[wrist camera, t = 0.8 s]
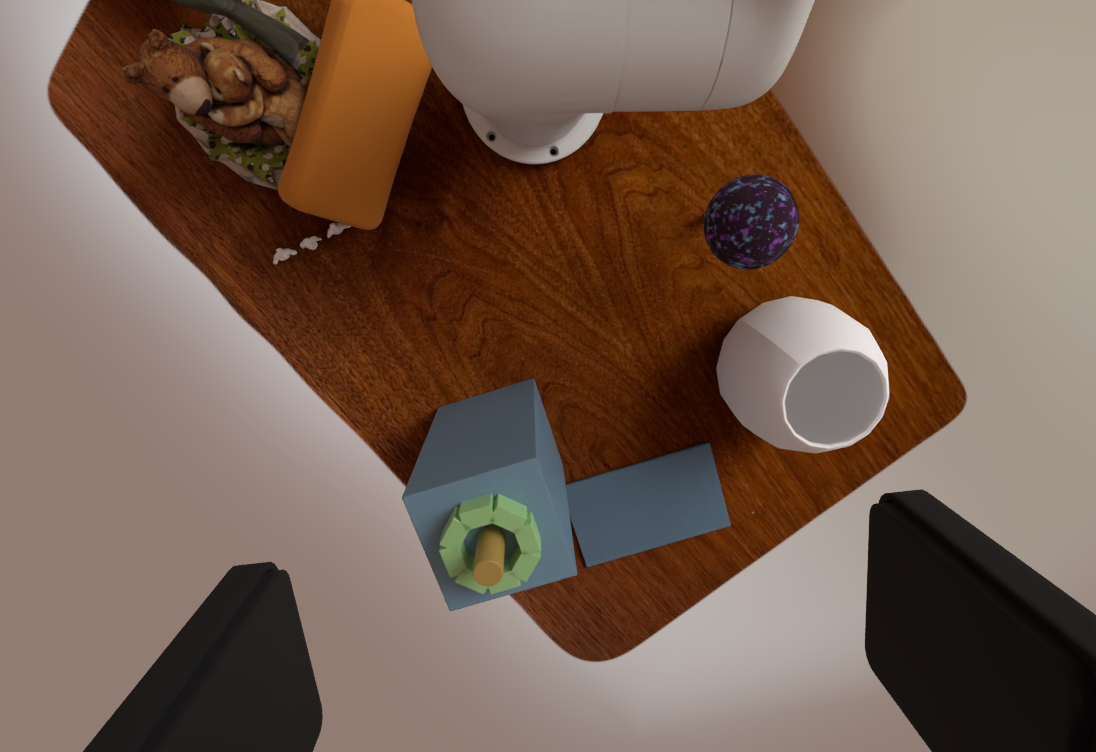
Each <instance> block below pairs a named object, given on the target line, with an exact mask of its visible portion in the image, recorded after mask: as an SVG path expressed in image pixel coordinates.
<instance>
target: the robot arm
mask: <svg viewBox="0 0 1096 752" xmlns="http://www.w3.org/2000/svg"><path fill="white" fill-rule="evenodd" d="M814 1H815V0H412V4H413V10H414V16H415V21H416V25H417V29H418V32H419V36H420V39H421V42H422V45H423V47H424V50H425V53H426V55H427V57H428V59H429V61H430V64H431V65H432V67H433V69H434V71H435V72H436V74H437V76H438V77H439V79H440V80H441V82H442V83H443V84H444V86H445V87H446V88H447V89H448V90H449V92H450V93H451V94H452V95H453V96H454V97H455V98H456V99H458V100H459V101H460V102H461V103H462V104H463V107H464V111H465V113H466V115H467V118H468V120H469V122H470V124H471V126H472V128H473V129H474V131H475V132H476V133H477V135H478V136H479V137H480V139H481V140H482V141H483V142H484V143H485V144H486V145H487V146H488V147H489V148H491V149H492V150H493V151H495V152H496V153H498V154H499V155H501V156H503V157H505V158H507V159H510V160H512V161H515V162H518V163H525V164H532V165H533V164H546V163H550V162H554V161H557V160H560V159H562V158H564V157H566V156H568V155H570V154H572V153H573V152H574V151H576V150H577V149H579V148H580V147H581V146H582V145H583V144H584V143H585V142H586V141H587V140H588V139H589V137H590V136H591V135H592V133H593V132H594V131H595V129H596V128H597V126H598V124H599V121H600V119H601V117H602V115H603V113H612V111H691V110H716V109H728V108H734V107H738V106H742V105H745V104H748V103H750V102H753V101H754V100H756V99H758V98H759V97H761V96H762V95H763V94H765V93H766V92H767V91H768V90H769V89H770V88H771V87H772V86H773V85H774V84H775V83H776V81H777V80H778V79H779V78H780V76H781V74H782V73H783V71H784V70H785V68H786V66H787V64H788V62H789V60H790V59H791V57H792V55H793V53H794V50H795V48H796V46H797V44H798V41H799V39H800V36H801V34H802V32H803V29H804V27H805V24H806V21H807V19H808V16H809V14H810V11H811V8H812V6H813V4H814ZM491 134H493V135H494V136H495V139H494V140H490V139H489V136H490V135H491ZM551 149H555V150H556V154H555V155H551V153H550V150H551ZM867 572H868V573H867V601H866V628H865V630H866V631H865V651H866V656H867V659H868V662H869V664H870V667H871V669H872V670H873V672H874V673H875V675H876V676H877V678H878V679H879V680H880V682H881V683H882V684H883V685H884V687H885V688H886V690H887V691H888V693H889V694H890V695H891V697H892V698H893V699H894V701H895V702H896V703H897V705H898V706H899V707H900V709H901V710H902V712H903V713H904V714H905V716H906V717H907V718H908V720H909V721H910V722H911V724H912V725H913V727H914V728H915V729H916V731H917V732H918V733H919V735H920V736H921V738H922V739H923V740H924V742H925V743H926V744H927V746H928V747H929V748H930V750H931V751H932V752H1096V615H1095V614H1094V613H1092V612H1091V611H1090V610H1088V609H1087V608H1085V607H1084V606H1083V605H1081V604H1080V603H1079V602H1077V601H1076V600H1075V599H1073V598H1072V597H1070V596H1069V595H1068V594H1066V593H1065V592H1064V591H1062V590H1061V589H1059V588H1058V587H1057V586H1055V585H1054V584H1053V583H1051V582H1050V581H1048V580H1047V579H1046V578H1044V577H1043V576H1042V575H1040V574H1039V573H1038V572H1036V571H1035V570H1033V569H1032V568H1031V567H1029V566H1028V565H1026V564H1025V563H1024V562H1022V561H1021V560H1020V559H1018V558H1017V557H1016V556H1014V555H1013V554H1012V553H1010V552H1009V551H1007V550H1006V549H1004V548H1003V547H1002V546H1001V545H999V544H998V543H996V542H995V541H994V540H992V539H991V538H990V537H988V536H987V535H985V534H984V533H983V532H981V531H980V530H979V529H977V528H976V527H975V526H973V525H972V524H970V523H969V522H968V521H966V520H965V519H963V518H962V517H961V516H959V515H958V514H957V513H955V512H954V511H952V510H951V509H950V508H948V507H947V506H946V505H944V504H943V503H942V502H940V501H939V500H937V499H936V498H935V497H934V496H932V495H931V494H929V493H928V492H926V491H924V490H912V491H904V492H894V493H885V494H884V495H882V496H881V498H880V500H879V503H878V504H874V505H872V507H871V509H870V515H869V543H868V571H867ZM321 726H322V706H321V701H320V698H319V693H318V689H317V685H316V681H315V677H314V673H313V669H312V665H311V661H310V657H309V653H308V649H307V645H306V641H305V637H304V633H303V629H302V625H301V621H300V617H299V613H298V609H297V605H296V601H295V597H294V593H293V589H292V585H291V581H290V577H289V574H288V573H287V572H286V571H285V570H278V568H277V567H276V565H275V564H274V563H272V562H265V563H256V564H247V565H238V566H234V567H232V568H231V569H230V570H229V571H228V572H227V574H226V575H225V576H224V577H223V579H222V580H221V581H220V582H219V584H218V585H217V586H216V587H215V588H214V590H213V591H212V592H211V593H210V595H209V596H208V597H207V598H206V600H205V601H204V602H203V603H202V605H201V606H200V607H199V608H198V610H197V611H196V612H195V613H194V615H193V616H192V617H191V618H190V619H189V621H188V622H187V623H186V625H185V626H184V627H183V628H182V629H181V631H180V632H179V633H178V634H177V636H176V637H175V638H174V639H173V641H172V642H171V643H170V644H169V646H168V647H167V648H166V649H165V650H164V652H163V653H162V654H161V656H160V657H159V658H158V659H157V660H156V662H155V663H154V664H153V665H152V667H151V668H150V669H149V670H148V672H147V673H146V674H145V675H144V677H143V678H142V679H141V680H140V681H139V683H138V684H137V685H136V687H135V688H134V689H133V690H132V692H131V693H130V694H129V695H128V696H127V698H126V699H125V700H124V701H123V703H122V704H121V705H120V707H119V708H118V709H117V710H116V711H115V713H114V714H113V715H112V716H111V717H110V719H109V720H108V721H107V722H106V724H105V725H104V726H103V727H102V729H101V730H100V731H99V732H98V734H97V735H96V736H95V737H94V739H93V740H92V741H91V742H90V744H89V745H88V746H87V747H86V748H85V750H84V751H83V752H313V750H314V747H315V744H316V741H317V739H318V737H319V733H320V731H321Z"/></svg>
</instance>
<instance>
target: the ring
mask: <svg viewBox="0 0 1096 752" xmlns="http://www.w3.org/2000/svg"><path fill="white" fill-rule="evenodd" d="M491 523H493V524H495V525H497V526H500V527H502V528H504V529H506V530H509V531H511V532H513V533H514V534H515V537H516V539H517V542H518V547H517V548H516V550H515V552H514V554H513V555H512V557H511V558H509V559H505V560H504V570H503V577H502V579H501V581H500V582H499V583H497V584H496V585H494V586H483V585H480V584H479V583H477V582H476V580H475V579H474V577H473V567H474V560H475V557H473V556H470V555H469V553H468V551H467V548H466V546H465V543H464V539H465V537H466V535H467V534H468V532H469V530H471V529H475V528H478V527H481V526H485V525H488V524H491ZM439 545H440V549H439V553H440V555H441V557H442V560H443V562H444V565H445V567H446V569H447V572H448V574H449V577H454V576H456V578H455V583H457V584H460V585H462V586H465V587H467V588H469V589H472V590H474V591H476V592H479V593H481V594H484V593H485V591H486V590H487V588H488V590H489V592H490V594H495V593H498V592H502V591H505V590H509V589H512V588H516V587H519V586H521V580H522V581H524V582H527V580H528V578H529V577H530V575H531V573H532V571H533V570H534V568H535V566H536V565H537V563H538V561H539V560H540V558H541V536H540V534H539V531H538V528H537V525H536V522H535V520H534V517H533V514H532V512H527V506H525V505H523V504H521V503H518V502H516V501H514V500H512V499H509V498H507V497H505V496H503V495H501V494H498V495H497V497H496V498H495V500H494V498H493V496H492V493H490V494H486V495H483V496H480V497H476V498H473V499H470V500H466V501H463V502H461V505H460V508H459V507H457V506H456V507H455V508H454V510H453V512H452V514H451V516H450V518H449V520H448V522H447V523H446V525H445V527H444V529H443V531H442V535H441V539H440V543H439Z"/></svg>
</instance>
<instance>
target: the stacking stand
mask: <svg viewBox="0 0 1096 752" xmlns="http://www.w3.org/2000/svg"><path fill="white" fill-rule="evenodd" d="M490 493H492V496H493V498H494V500H495V498H496V497H497V495H498V494H501V495H503V496H505V497H507V498H509V499H512V500H514V501H516V502H518V503H521V504H523V505H525V506H527V512H532V514H533V517H534V520H535V522H536V525H537V528H538V531H539V534H540V536H541V558H540V560H539V561H538V563H537V565H536V566H535V568H534V570H533V571H532V573H531V575H530V577H529V578H528V580H527V582H524V581H522V580H521V586H519V587H516V588H512V589H509V590H505V591H502V592H498V593H495V594H490V592H489V590H488V588H487V590H486V591H485V593H484V594H481V593H479V592H476V591H474V590H472V589H469V588H467V587H465V586H462V585H460V584H457V583H455V578H456V576H454V577H449V574H448V572H447V569H446V567H445V565H444V562H443V560H442V557H441V555H440V553H439V549H440V545H439V543H440V539H441V535H442V531H443V529H444V527H445V525H446V523H447V522H448V520H449V518H450V516H451V514H452V512H453V510H454V508H455V507H456V506H457V507H459V508H460V505H461V502H463V501H466V500H470V499H473V498H476V497H480V496H483V495H486V494H490ZM402 499H403V501H404V504H405V506H406V508H407V511H408V513H409V515H410V517H411V520H412V523H413V525H414V527H415V530H416V532H417V534H418V537H419V539H420V541H421V544H422V546H423V548H424V551H425V553H426V556H427V558H428V560H429V563H430V565H431V567H432V570H433V572H434V575H435V577H436V579H437V581H438V584H439V586H440V588H441V591H442V593H443V596H444V598H445V601H446V603H447V605H448V608H449V610H450V611H453V610H457V609H461V608H464V607H467V606H471V605H474V604H478V603H481V602H485V601H488V600H492V599H495V598H499V597H502V596H506V595H509V594H513V593H516V592H519V591H523V590H526V589H530V588H533V587H537V586H540V585H544V584H547V583H551V582H554V581H558V580H561V579H565V578H568V577H572V576H575V575H577V570H576V562H575V554H574V546H573V538H572V531H571V523H570V515H569V507H568V499H567V492H566V484H565V476H564V468H563V464H562V461H561V458H560V455H559V452H558V449H557V446H556V443H555V440H554V437H553V434H552V431H551V428H550V425H549V422H548V419H547V416H546V413H545V410H544V407H543V404H542V401H541V398H540V395H539V392H538V389H537V386H536V383H535V380H534V378H533V379H530V380H526V381H523V382H520V383H517V384H514V385H510V386H507V387H504V388H501V389H497V390H494V391H491V392H488V393H484V394H481V395H478V396H475V397H471V398H468V399H465V400H462V401H458V402H455V403H452V404H449V405H445V406H442V407H439V408H438V410H437V412H436V415H435V417H434V420H433V422H432V425H431V427H430V429H429V432H428V434H427V437H426V439H425V442H424V444H423V447H422V449H421V452H420V454H419V457H418V459H417V462H416V464H415V467H414V469H413V472H412V474H411V477H410V479H409V482H408V484H407V487H406V489H405V492H404V494H403V497H402ZM464 543H465V546H466V548H467V551H468V553H469V555H470V556H473V557H475V560H474V567H473V577H474V579H475V580H476V582H477V583H479V584H480V585H483V586H494V585H496V584H497V583H499V582H500V581H501V579H502V577H503V570H504V560H505V559H509V558H511V557H512V555H513V554H514V552H515V550H516V548H517V547H518V542H517V539H516V537H515V534H514V533H513V532H511V531H509V530H506V529H504V528H502V527H500V526H497V525H495V524H493V523H491V524H488V525H485V526H481V527H478V528H475V529H471V530H469V532H468V534H467V535H466V537H465V539H464Z"/></svg>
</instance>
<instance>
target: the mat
mask: <svg viewBox="0 0 1096 752" xmlns="http://www.w3.org/2000/svg"><path fill="white" fill-rule="evenodd" d="M566 492H567V499H568V507H569V515H570V519H571V522H572V524H573V527H574V530H575V533H576V536H577V539H578V542H579V545H580V548H581V551H582V554H583V557H584V560H585V563H586V566H587V567H590V566H593V565H597V564H600V563H604V562H607V561H611V560H614V559H618V558H621V557H625V556H628V555H632V554H635V553H638V552H642V551H645V550H649V549H652V548H656V547H659V546H663V545H666V544H670V543H673V542H677V541H680V540H683V539H687V538H690V537H694V536H697V535H701V534H704V533H708V532H711V531H715V530H718V529H722V528H725V527H728V526H731V524H730V520H729V516H728V513H727V509H726V505H725V501H724V497H723V493H722V489H721V485H720V481H719V477H718V473H717V469H716V466H715V462H714V458H713V454H712V450H711V446H710V443H709V442H707V443H703V444H700V445H697V446H693V447H690V448H686V449H683V450H680V451H676V452H673V453H670V454H666V455H663V456H660V457H656V458H653V459H649V460H646V461H643V462H639V463H636V464H633V465H629V466H626V467H623V468H619V469H616V470H612V471H609V472H606V473H602V474H599V475H596V476H592V477H589V478H585V479H582V480H579V481H575V482H572V483H569V484H566Z"/></svg>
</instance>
